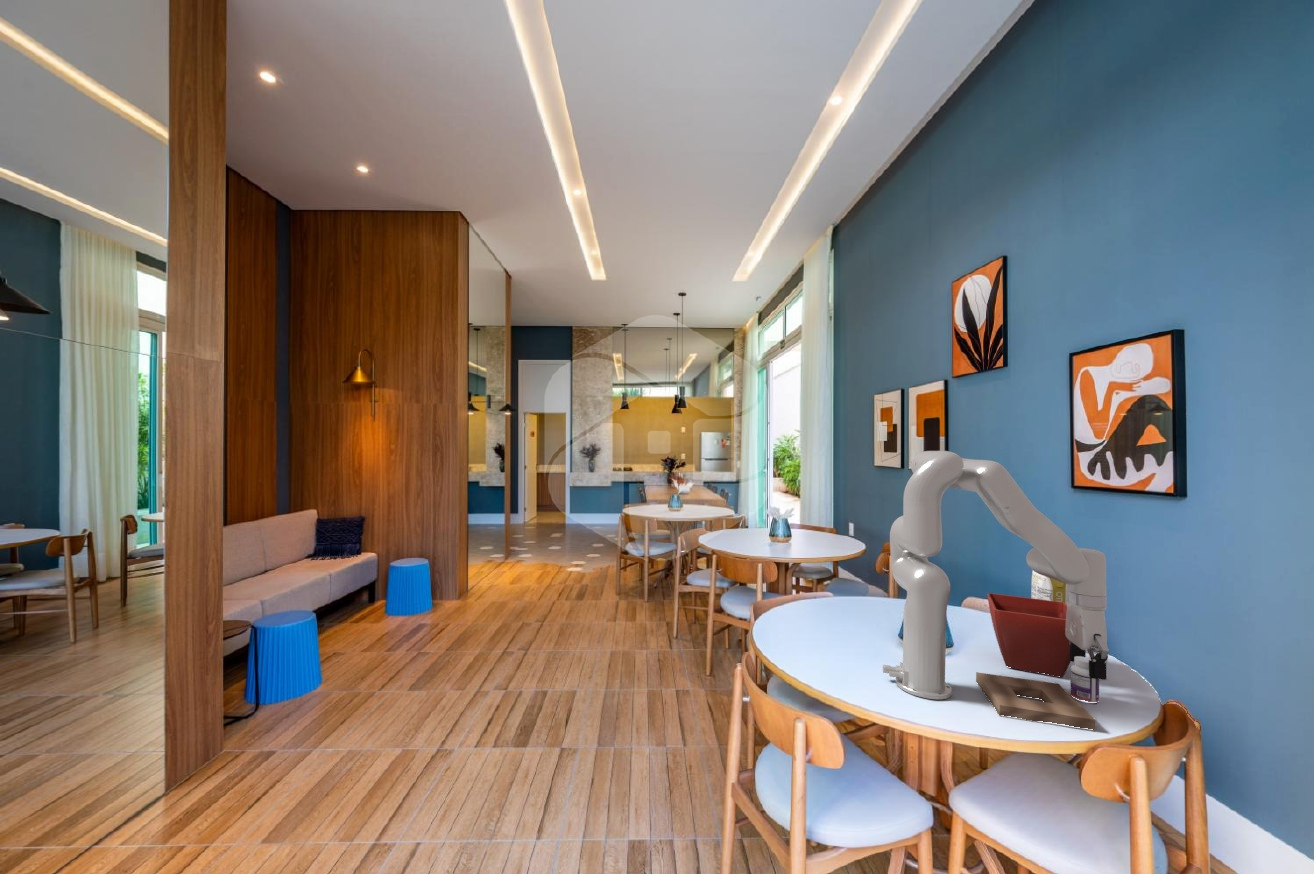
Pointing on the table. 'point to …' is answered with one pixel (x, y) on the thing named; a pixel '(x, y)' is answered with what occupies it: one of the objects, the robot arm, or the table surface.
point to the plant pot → (1031, 633)
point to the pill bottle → (1083, 681)
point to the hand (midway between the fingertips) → (1087, 669)
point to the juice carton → (1048, 589)
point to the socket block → (1053, 709)
